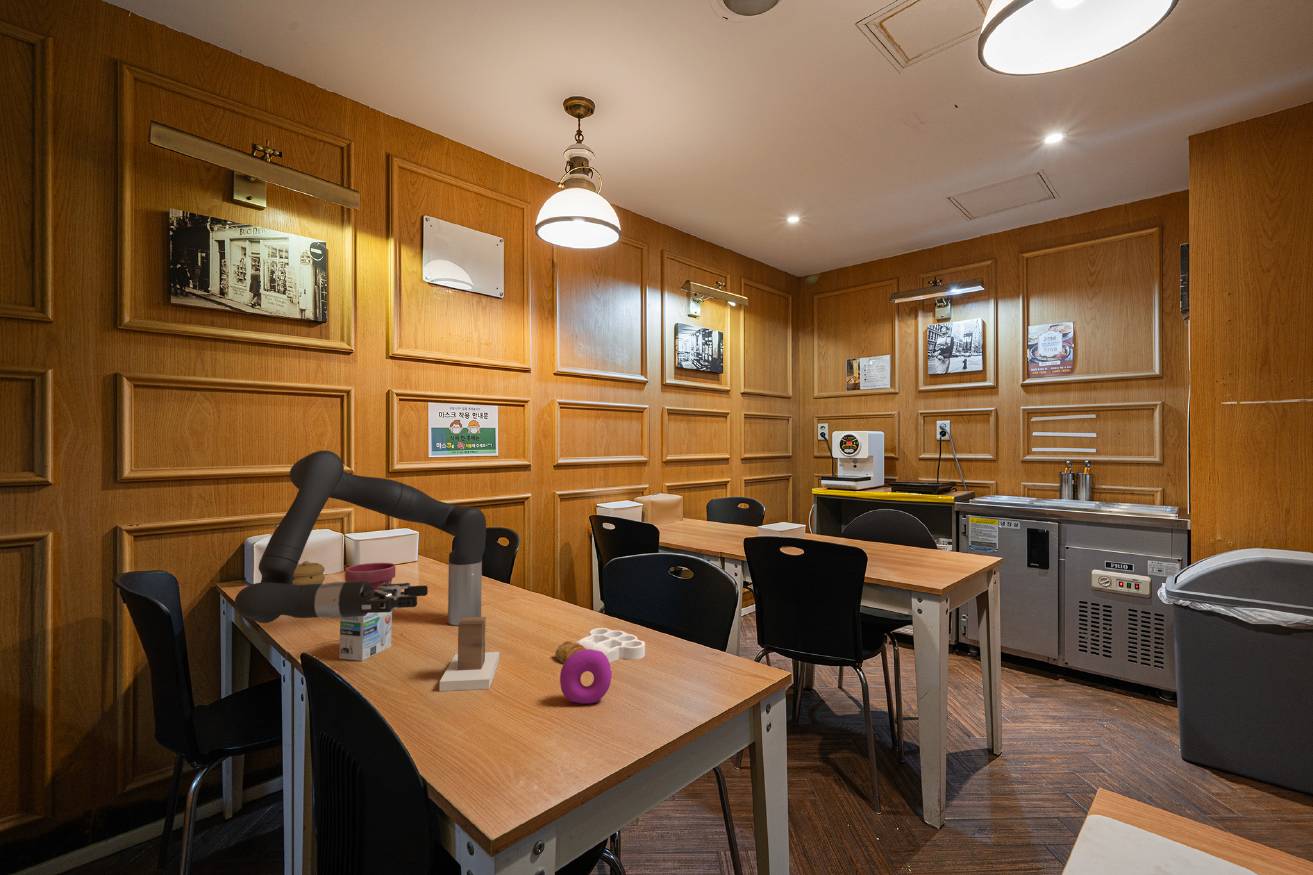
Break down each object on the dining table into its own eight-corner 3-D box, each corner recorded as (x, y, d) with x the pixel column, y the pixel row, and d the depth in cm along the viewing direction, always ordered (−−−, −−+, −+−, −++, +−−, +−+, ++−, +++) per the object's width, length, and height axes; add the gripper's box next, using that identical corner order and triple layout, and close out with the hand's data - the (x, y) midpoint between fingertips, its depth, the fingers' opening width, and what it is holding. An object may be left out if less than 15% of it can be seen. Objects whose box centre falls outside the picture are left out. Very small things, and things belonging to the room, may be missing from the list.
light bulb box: (362, 661, 132) (363, 616, 132) (337, 659, 134) (338, 614, 134) (392, 646, 143) (393, 603, 143) (369, 644, 144) (370, 602, 144)
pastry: (598, 663, 133) (598, 647, 133) (574, 671, 129) (574, 654, 129) (574, 652, 140) (574, 637, 140) (551, 659, 135) (551, 643, 136)
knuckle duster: (566, 649, 142) (610, 636, 153) (613, 670, 130) (657, 654, 140) (566, 636, 143) (610, 624, 153) (613, 655, 130) (657, 640, 140)
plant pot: (364, 600, 185) (365, 561, 185) (404, 602, 183) (404, 562, 183) (333, 612, 171) (334, 570, 171) (376, 615, 169) (377, 572, 169)
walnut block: (462, 661, 128) (462, 617, 128) (484, 660, 128) (485, 616, 129) (457, 670, 123) (458, 624, 123) (481, 669, 123) (481, 623, 124)
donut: (591, 714, 107) (591, 661, 108) (554, 702, 112) (555, 652, 112) (615, 698, 114) (616, 649, 114) (580, 688, 119) (580, 640, 119)
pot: (276, 593, 193) (277, 564, 193) (303, 585, 204) (304, 557, 204) (306, 595, 191) (307, 565, 191) (332, 586, 202) (332, 558, 202)
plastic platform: (455, 662, 133) (455, 653, 133) (499, 660, 134) (499, 651, 134) (439, 691, 117) (439, 681, 117) (489, 688, 118) (489, 679, 118)
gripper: (329, 590, 115) (413, 587, 117) (356, 574, 129) (430, 571, 131) (330, 627, 115) (413, 623, 117) (356, 606, 129) (430, 603, 131)
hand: (422, 595), depth 124 cm, fingers open, 8 cm apart
